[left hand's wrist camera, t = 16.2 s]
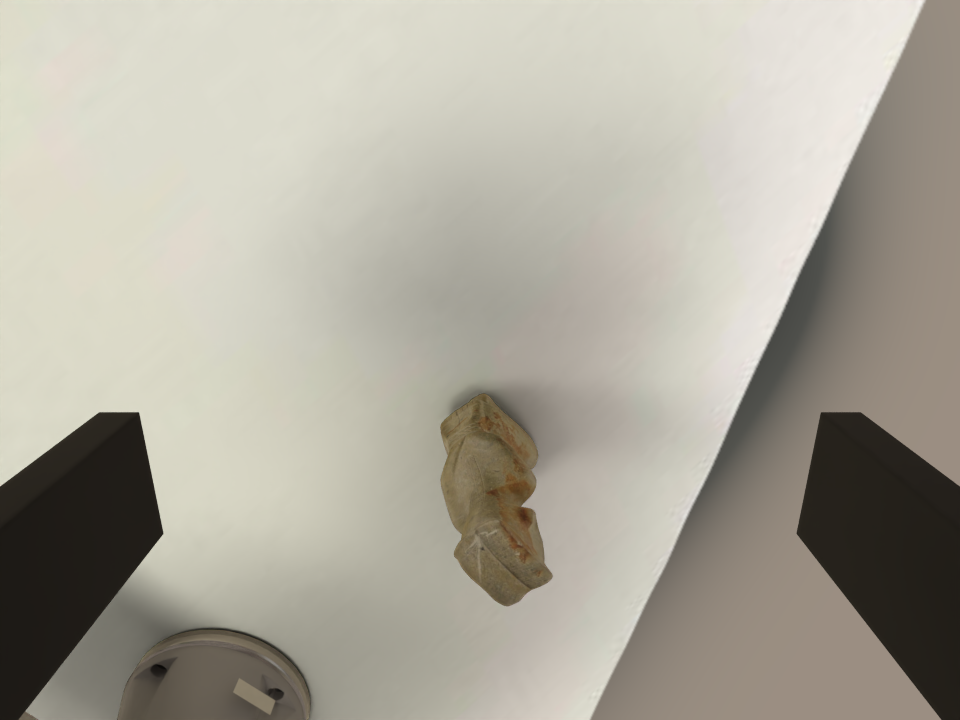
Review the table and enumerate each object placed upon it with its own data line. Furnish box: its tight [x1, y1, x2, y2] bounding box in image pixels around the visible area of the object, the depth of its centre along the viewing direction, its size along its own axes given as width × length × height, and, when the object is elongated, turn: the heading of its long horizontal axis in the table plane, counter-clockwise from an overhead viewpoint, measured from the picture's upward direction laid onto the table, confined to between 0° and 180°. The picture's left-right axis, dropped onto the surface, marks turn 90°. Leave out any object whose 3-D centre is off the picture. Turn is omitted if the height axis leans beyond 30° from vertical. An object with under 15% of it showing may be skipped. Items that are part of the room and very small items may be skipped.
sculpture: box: [440, 394, 553, 606], centre depth 39 cm, size 6×7×15 cm
